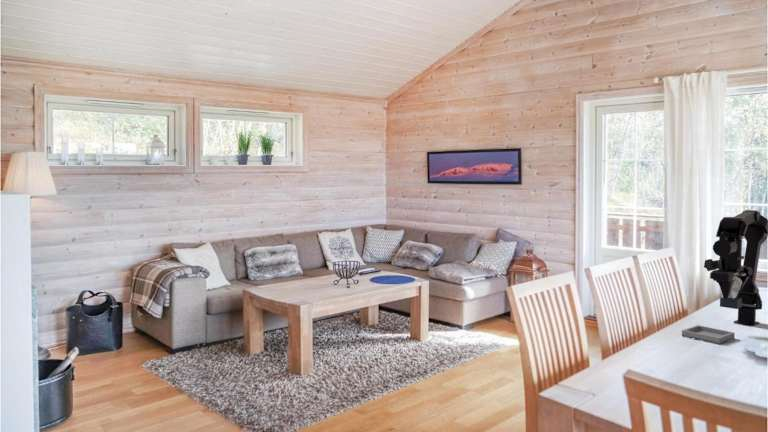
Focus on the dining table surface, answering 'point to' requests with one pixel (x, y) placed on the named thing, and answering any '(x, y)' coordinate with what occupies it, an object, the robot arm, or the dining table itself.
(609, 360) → the dining table surface
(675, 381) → the dining table surface
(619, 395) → the dining table surface
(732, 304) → the watch
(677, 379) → the dining table surface
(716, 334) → the tray
